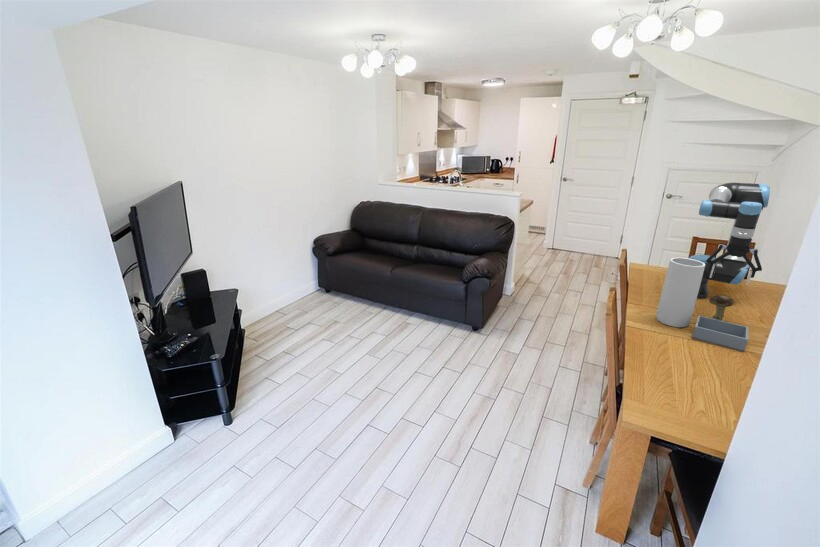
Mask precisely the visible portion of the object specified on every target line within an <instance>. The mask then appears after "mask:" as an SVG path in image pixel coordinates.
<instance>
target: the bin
mask: <svg viewBox="0 0 820 547" xmlns="http://www.w3.org/2000/svg"><path fill="white" fill-rule="evenodd" d="M692 333H693V334H692V336H691V339H694V340H696V341H697V340H698V341H701V342H704V343H708V344H713V345H715V346H720V347H723V348H727V349H732V350H735V351H739V352H743V353H744V352H745V350H746V348H747V345H748V342H749V326H748V325H747V326H745V325H743V324H737V323H733V322H730V321H729V322H728V321H724V320H722V321H721V320H716V319H712V317H709V316H702V315H698V316H697V319H696V323H695V327H694V330H693V332H692Z"/></svg>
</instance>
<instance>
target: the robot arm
mask: <svg viewBox="0 0 820 547" xmlns="http://www.w3.org/2000/svg"><path fill="white" fill-rule="evenodd" d="M770 194H771V187H770V186H769V185H768V184H765V183H764V184H761V183H750V182H749V183H746V182H728V183H727V182H726V183H723V184H719V185H717V186H715V187H714V188H712V189H711V191H710V192H709V194H708V200H707V199H706V200H705V199H704V200H702V201H701V203H700V205H699V210H698V215H700V216H704V217H708V218H709V217H710V218H711V217H712V218H722V219H730V220H734V221H733V224H732V227H731V231H730V234H729V238H728V241H727V245H725V244H722V243H721V244H719V246H718V248H717V249H716V250H715V251H714V252H713V253H712V254H710V255H709V254H695V255H691V256H689V257H688V258H689V259H694V260H698V261H701V262H703V263H705V268H704V272H703V276H702V280H701V284H700V288H699V292H698V295H697V299H696V300H698V299H700V300H702V299H703V300H704V299H707V298H708V297H709V286H708V283H709V281H713V282H719V283H724V284H728V285H737V286H738V285H740V284H741V283H742V282H743V281H744V278H745V277H746V275H747V273H748V270H749V268H750V270H749V273H748V276H747V279H746V281H745V285H746V286H747V285H749V284H750V280H751V279H754V278H755V276H756V272H762V270H763V268H762V264H761V262H760V259H759V255H758V252H759V250H758V248H752V249H751V248H750V247H751V244H752V241H753V239H752V238H753V237H754V234H755V232H756V228H757V224H758V221H759V218H760V215H761V213H762V212H763V210H764V209H765V208H768V206H769V200H770ZM722 250H725V252H724V253H722V254H721V255H719V256H718V257H716V256H717V255H718V254H719V253H720V252H721V251H722ZM749 253H751V254H752V255H753V257H754V261H755V264H756V266H757V267H756V266H755V265H754V263H753V262H752V260H751V259H750V257H748V255H747V254H749ZM715 257H716V258H715Z"/></svg>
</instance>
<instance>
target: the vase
mask: <svg viewBox="0 0 820 547" xmlns="http://www.w3.org/2000/svg"><path fill="white" fill-rule="evenodd" d="M704 268H705V263H703V262H701V261H698V260H694V259H689V257H672V258H670V259H669V263H668V267H667V271H666V275H665V278H664V282H663V285H662V286H663V287H662V290H661V294H660V298H659V302H658V305H657V309H656V310H657V311H656V315H655V318H656V320H657V321H658V322H659V323H661V324H663V325H666V326H670V327H674V328H686V327H688V326H690V323H691V322H692V321H691V320H692V317H693V314H694V310H695V307H696V302H697V300H698V299H697V295H698V292H699V288H700V284H701V280H702V276H703V272H704Z"/></svg>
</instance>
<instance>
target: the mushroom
mask: <svg viewBox="0 0 820 547" xmlns="http://www.w3.org/2000/svg"><path fill="white" fill-rule="evenodd" d="M708 302H709V303H710V304H713V305H714V306H715V314H713V315H712V317H711V318H712V319H716V320H721V321H724V320H723V319H724V317H725V310H726V308H727V307H732V306H734V304H735V301H734V299H732V298H731V297H729V296H725V295H715V296H711V297H709V298H708Z"/></svg>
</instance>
